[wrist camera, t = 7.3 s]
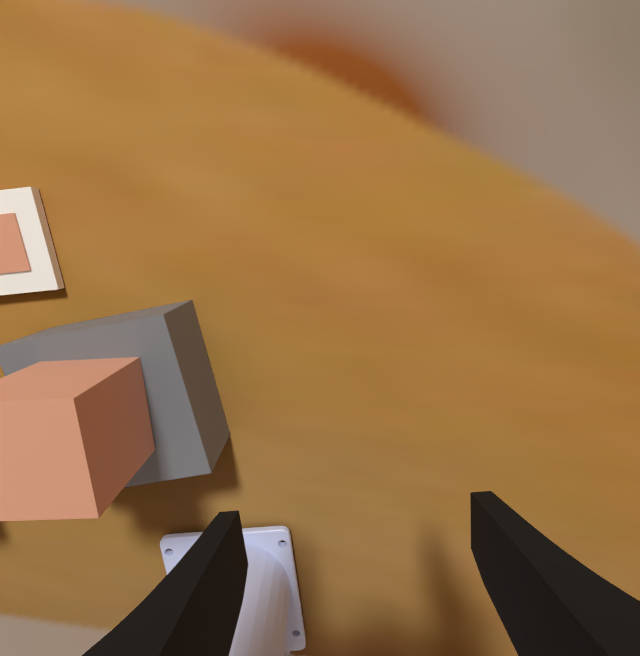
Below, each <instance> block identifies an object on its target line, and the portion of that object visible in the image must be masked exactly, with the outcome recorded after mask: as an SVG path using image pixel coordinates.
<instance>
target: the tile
mask: <svg viewBox="0 0 640 656" xmlns="http://www.w3.org/2000/svg"><path fill="white" fill-rule="evenodd" d="M62 288H65V287H64V283H63V279H62V276H61V272H60V268H59V264H58V261H57V257H56V253H55V249H54V246H53V242H52V238H51V234H50V231H49V227H48V223H47V219H46V216H45V212H44V208H43V204H42V201H41V197H40V193H39V189H38V188H36V187H24V188H15V189H7V190H0V295H9V294H19V293H28V292H38V291H47V290H57V289H62Z"/></svg>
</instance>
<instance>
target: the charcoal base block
mask: <svg viewBox="0 0 640 656" xmlns="http://www.w3.org/2000/svg"><path fill="white" fill-rule="evenodd" d="M129 357H140V361H141V367H142V373H143V379H144V385H145V391H146V397H147V403H148V409H149V415H150V421H151V427H152V433H153V439H154V445H155V450H154V452H153V453H152V454H151V455H150V456H149V458H148V459H147V460H146V461H145V463H144V464H143V465H142V466H141V467H140V469H139V470H138V471H137V472H136V473H135V475H134V476H133V477H132V478H131V480H130V481H129V482H128V483H127V484H126V486H125V487H131V486H137V485H143V484H149V483H155V482H161V481H167V480H173V479H179V478H185V477H191V476H197V475H203V474H209V473H212V471H213V469H214V467H215V465H216V462H217V460H218V458H219V456H220V454H221V452H222V450H223V448H224V446H225V444H226V442H227V440H228V438H229V436H230V432H229V428H228V425H227V421H226V418H225V414H224V411H223V407H222V403H221V400H220V396H219V393H218V389H217V386H216V382H215V379H214V375H213V372H212V368H211V365H210V361H209V357H208V354H207V350H206V347H205V343H204V340H203V336H202V333H201V329H200V326H199V322H198V318H197V315H196V311H195V308H194V304H193V301H192V300H189V301H184V302H179V303H174V304H169V305H164V306H159V307H154V308H149V309H144V310H139V311H134V312H129V313H123V314H118V315H113V316H108V317H103V318H98V319H93V320H88V321H83V322H78V323H73V324H68V325H63V326H58V327H53V328H49V329H46V330H43V331H40V332H37V333H34V334H32V335H29V336H26V337H23V338H20V339H17V340H14V341H11V342H9V343H6V344H3V345H0V364H1V367H2V369H3V372H4V374H5V376H7V375H10V374H12V373H14V372H17V371H19V370H21V369H24V368H26V367H28V366H31V365H33V364H35V363H38V362H43V361H64V360H86V359H107V358H129ZM125 487H124V488H125Z"/></svg>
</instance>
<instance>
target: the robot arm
mask: <svg viewBox="0 0 640 656" xmlns="http://www.w3.org/2000/svg"><path fill="white" fill-rule="evenodd" d="M281 540H284V541H286V542H281ZM160 549H161V553H162V557H163V561H164V565H165V569H166V573H167V576H166V577H165V578H164V579H163V580H162V581H161V582H160V583H159V584H158V585H157V586H156V588H155V589H154V590H153V591H152V592H151V593H150V594H149V595H148V596H147V597H146V598H145V599H144V600H143V601H142V602H141V603H140V604H139V605H138V606H137V607H136V608H135V609H134V610H133V611H132V612H131V613H130V614H129V615H128V616H127V617H126V618H125V619H124V620H122V621H121V622H120V623H119V624H118V625H117V626H116V627H115V628H114V629H113V630H112V631H110V632H109V633H108V634H107V635H106V636H104V637H103V638H102V639H101V640H100V641H99V642H97V643H96V644H95V645H94V646H93V647H91V648H90V649H89V650H88V651H87V652H86V653H84V654H83V655H82V656H290V651H299V650H302V649H304V648H305V645H306V637H305V630H304V623H303V616H302V610H301V603H300V596H299V589H298V582H297V576H296V569H295V562H294V555H293V548H292V541H291V535H290V530H289V529H288V528H287V527H285V526H270V527H257V528H244V529H242V526H241V521H240V515H239V511H228V512H219V513H218V515H217V516H216V517H215V518H214V519H213V521H212V522H211V523H210V524H209V526H208V527H207V528H206V529H205V530H204V532H191V533H178V534H167V535H165V536H163V538H162V539H161V541H160ZM169 549H171V550H173V551H171V550H169ZM471 549H472V552H473V555H474V558H475V561H476V563H477V566H478V569H479V572H480V575H481V577H482V580H483V583H484V585H485V587H486V589H487V591H488V594H489V596H490V598H491V600H492V602H493V604H494V606H495V608H496V610H497V612H498V614H499V616H500V619H501V621H502V623H503V625H504V627H505V629H506V631H507V633H508V635H509V637H510V639H511V641H512V643H513V645H514V647H515V649H516V651H517V653H518V656H640V601H638V600H637V599H635V598H633V597H632V596H630V595H628V594H627V593H625V592H624V591H622V590H621V589H619V588H618V587H616V586H614V585H613V584H611V583H610V582H608V581H607V580H605V579H603V578H602V577H600V576H599V575H597V574H596V573H594V572H593V571H591V570H590V569H589V568H587V567H586V566H584V565H583V564H582V563H580V562H579V561H577V560H576V559H575V558H573V557H572V556H571V555H569V554H568V553H566V552H565V551H564V550H562V549H561V548H560V547H558V546H557V545H556V544H554V543H553V542H552V541H551V540H549V539H548V538H547V537H545V536H544V535H543V534H542V533H540V532H539V531H538V530H537V529H535V528H534V527H533V526H532V525H531V524H529V523H528V522H527V521H526V520H525V519H523V518H522V517H521V516H520V515H519V514H517V513H516V512H515V511H514V510H513V509H511V508H510V507H509V506H508V505H507V504H506V503H504V502H503V501H502V500H501V499H500V498H499V497H497V496H496V495H495V494H494V493H493V492H491V491H485V492H472V493H471Z"/></svg>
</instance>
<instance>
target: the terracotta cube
mask: <svg viewBox="0 0 640 656" xmlns="http://www.w3.org/2000/svg"><path fill="white" fill-rule="evenodd" d="M154 450H155V445H154V439H153V433H152V427H151V421H150V415H149V409H148V403H147V397H146V391H145V385H144V379H143V373H142V367H141V361H140V357H129V358H107V359H86V360H64V361H43V362H38V363H35V364H33V365H31V366H28V367H26V368H24V369H21V370H19V371H17V372H14V373H12V374H10V375H7V376H5V377H2V378H0V521H21V520H52V519H84V518H99V517H100V516H101V515H102V513H103V512H104V511H105V510H106V509H107V507H108V506H109V505H110V504H111V503H112V501H113V500H114V499H115V498H116V497H117V495H118V494H119V493H120V492H121V490H122V489H123V488H124V487H125V486H126V484H127V483H128V482H129V481H130V480H131V478H132V477H133V476H134V475H135V473H136V472H137V471H138V470H139V469H140V467H141V466H142V465H143V464H144V463H145V461H146V460H147V459H148V458H149V456H150V455H151V454H152V453H153V452H154Z"/></svg>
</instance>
